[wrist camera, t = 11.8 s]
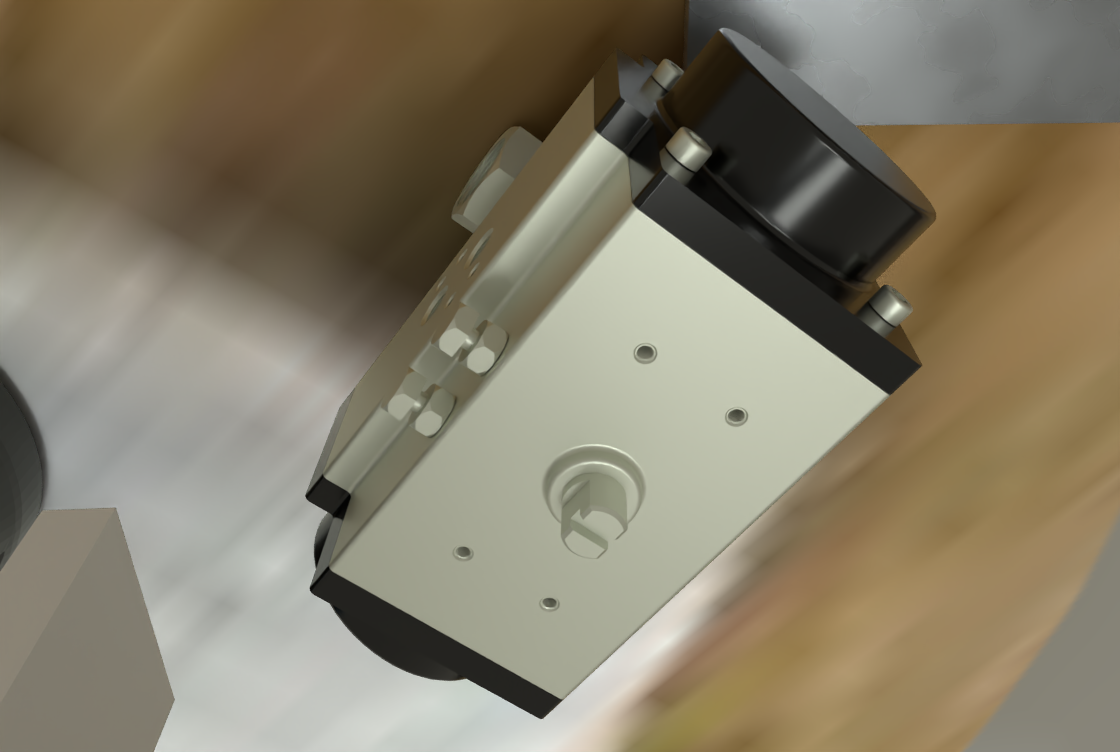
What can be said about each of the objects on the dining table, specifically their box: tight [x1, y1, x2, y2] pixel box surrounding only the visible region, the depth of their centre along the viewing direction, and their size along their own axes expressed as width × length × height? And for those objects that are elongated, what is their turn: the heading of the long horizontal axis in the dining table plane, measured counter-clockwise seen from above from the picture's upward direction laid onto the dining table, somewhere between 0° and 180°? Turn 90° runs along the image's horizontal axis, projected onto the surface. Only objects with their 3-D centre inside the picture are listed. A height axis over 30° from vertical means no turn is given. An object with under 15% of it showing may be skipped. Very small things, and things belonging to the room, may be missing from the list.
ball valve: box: [305, 28, 936, 719], centre depth 30 cm, size 18×8×18 cm, turn 143°
